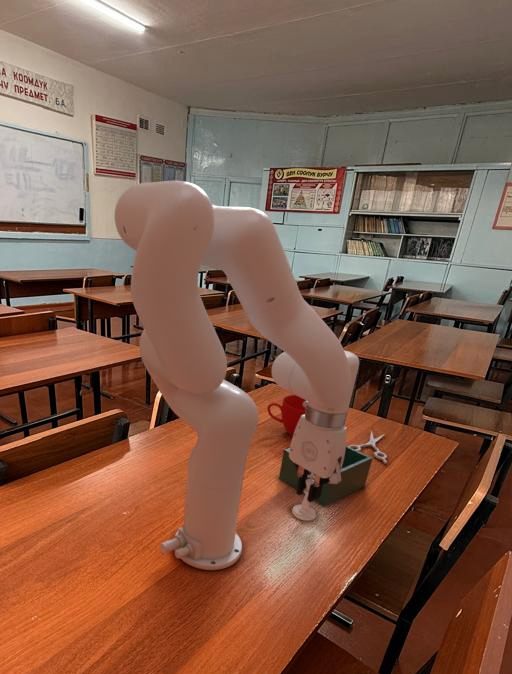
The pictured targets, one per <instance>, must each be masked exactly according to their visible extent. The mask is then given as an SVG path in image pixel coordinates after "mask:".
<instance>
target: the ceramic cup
mask: <svg viewBox="0 0 512 674" xmlns="http://www.w3.org/2000/svg"><path fill="white" fill-rule="evenodd" d="M304 401H307V400H305V399H303V398H301V397H299V396H296V395H294V394H290V395H286V396H285V397H283V399H282V404H280V403H278V402H271V403H269V404H268V406H267V413H268V415H269V416H270V417H271V419H273V420H275V421H277V422H278V423H281V424H283V427H284V429H285V430H286V432H287V433H288V435H289V436H290V437H292V438H293V435H294V432H295V429H296V426H297V424H298V422H299V419H300V417H301V416H302V415H304V414H305V411H306V408H305V407H303V402H304ZM273 406H275V407H277V408H279V410H280V413H281V418H279V417H277V416H275V415H274V414H273V413H272V412H271V407H273Z"/></svg>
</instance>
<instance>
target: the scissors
mask: <svg viewBox="0 0 512 674" xmlns="http://www.w3.org/2000/svg"><path fill="white" fill-rule="evenodd" d="M373 433H374V432H373V430H372V429H371V430H370V435H369V441H367V442H366V443H361V444H350V445H348V447H350V448H353V449H355V450H357V451H359V452H361V451H362V448H367V447H371V448H372V449H373V450H375V452H373V457H375V458H376V459H378V460H380V461H382V462H383V464H385V465H387V463H388V460H386V459H387V454H386V453H384V452H383V451H380V448H378V447H377V446H376V443H377V442H379V441H380V440H381V439H382V438H383V437H384V436H385V435H386V433H384V434H382V435H379V436H378V437H376V438H374V434H373Z"/></svg>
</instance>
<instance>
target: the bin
mask: <svg viewBox="0 0 512 674" xmlns="http://www.w3.org/2000/svg"><path fill="white" fill-rule="evenodd" d="M289 450H290V447H288V448H285V449H283V454H282V459H281V464H280V470H279V475H278V479H279V480H281V481H282V482H284V483H286V484H288V485H289V486H291V487H293V488H294V489H296V490H297V489H298V488H297V486H298V481H299V477H298V475H297V472H298V471H297V469H296V466H295V463H293V462H292V460H291V459H290V458H289ZM373 459H374V457H371V456H369V455H367V454H366V453H363V452H361V451H360V452H359V451H357V450H356V448H350V447H349V445H346V449H345V456H344V461H343V465H342V468H341V471H340V473H341V480H342V481H341V482H340V483H338V484H330V483H326V484H324V485H323V488H322V492H321V496H320V498H318V499H316V500H314V501H316V502H317V503H318V504H320V505H322V506H323V507H326V506H328V505H331V504H332V503H335V502H336V501H339V500H340V499H343V498H344V497H346V496H348V495H350V494H352V493H354V492H356V491H358V490H360V489H362V488H364V487H365V486H366V484H367V479H368V477H369V472H370V469H371V465H372V462H373ZM310 475H311V472H310ZM313 476H315V474H314V475H313ZM331 476H332V475H331ZM313 480H314V478H313ZM305 494H306V493H304V494H303V495H305Z"/></svg>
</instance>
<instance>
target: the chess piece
mask: <svg viewBox="0 0 512 674" xmlns="http://www.w3.org/2000/svg"><path fill="white" fill-rule="evenodd" d="M313 475H314V473H312V472H311V475H308V476H307V477H308V478H310V479H307V480H306V487H307V488H305V489H304V490H303V492H304V493H306V494H304V497H303V499H302V502H301V503H299V504H295V505H293V507H292V510H291V513H292V515H293V516H294V517H295V518H297V519H298V520H301V521H306V522H307V521H313V520H314V519H316V516H317V515H316V514H317V513H316V510H315V509H314V508H313V507H312V506H310V504H311V502H309V501H308V500H307V498H308V494H309V489H310V485H311V484H313V483H314V480H313V478H315V476H313Z"/></svg>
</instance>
